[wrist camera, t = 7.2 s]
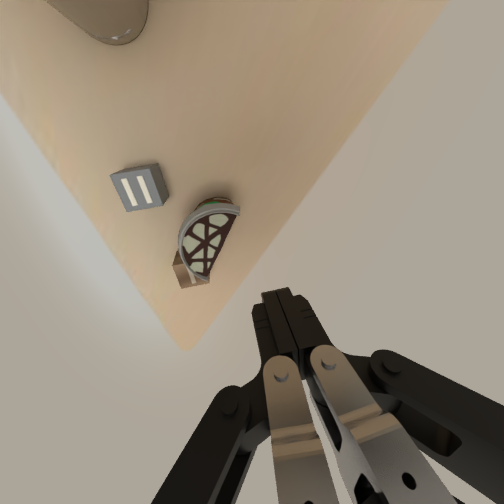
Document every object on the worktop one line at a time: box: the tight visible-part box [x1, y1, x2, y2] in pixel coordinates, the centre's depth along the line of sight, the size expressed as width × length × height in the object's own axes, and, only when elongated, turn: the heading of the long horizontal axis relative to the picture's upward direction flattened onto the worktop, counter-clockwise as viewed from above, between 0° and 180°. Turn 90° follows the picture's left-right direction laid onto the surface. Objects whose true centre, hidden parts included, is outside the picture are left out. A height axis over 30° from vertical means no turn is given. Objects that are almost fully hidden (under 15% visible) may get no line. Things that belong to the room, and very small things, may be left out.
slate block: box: [110, 164, 169, 212], centre depth 30 cm, size 5×5×5 cm
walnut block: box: [172, 251, 210, 289], centre depth 38 cm, size 5×5×5 cm
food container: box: [178, 197, 240, 282], centre depth 32 cm, size 12×6×10 cm, turn 153°
